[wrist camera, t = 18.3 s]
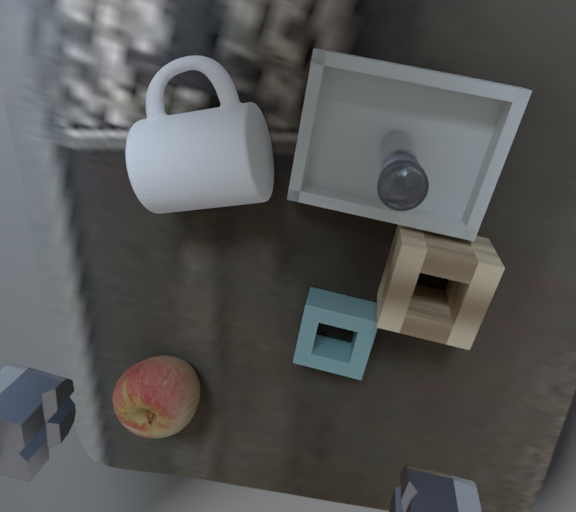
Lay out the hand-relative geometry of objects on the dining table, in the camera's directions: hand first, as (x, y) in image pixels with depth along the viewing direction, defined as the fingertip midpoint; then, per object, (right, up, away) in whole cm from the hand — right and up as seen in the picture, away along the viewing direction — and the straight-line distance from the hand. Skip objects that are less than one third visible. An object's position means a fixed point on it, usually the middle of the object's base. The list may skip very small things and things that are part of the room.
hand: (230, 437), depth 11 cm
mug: (-5, +16, +30) cm, 35 cm away
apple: (-12, -9, +43) cm, 46 cm away
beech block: (+15, +3, +32) cm, 35 cm away
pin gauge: (+10, +13, +27) cm, 32 cm away
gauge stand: (+6, -3, +36) cm, 37 cm away
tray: (+11, +14, +28) cm, 33 cm away
